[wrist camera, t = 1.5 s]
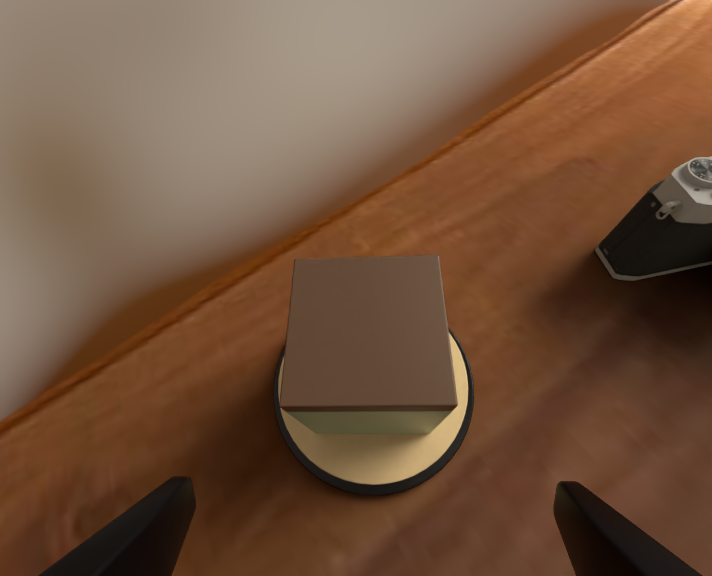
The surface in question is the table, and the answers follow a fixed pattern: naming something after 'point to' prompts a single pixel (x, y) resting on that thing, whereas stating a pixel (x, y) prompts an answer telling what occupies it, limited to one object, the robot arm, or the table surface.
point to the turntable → (381, 488)
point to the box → (371, 367)
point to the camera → (664, 227)
